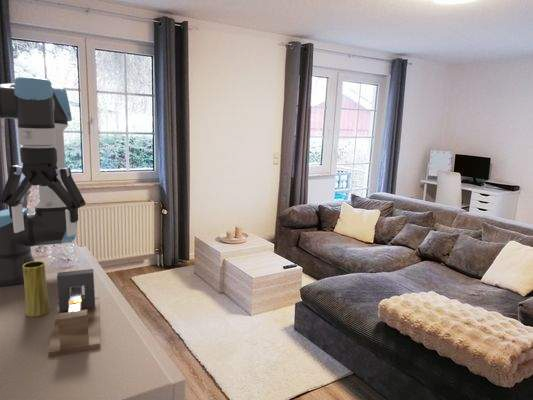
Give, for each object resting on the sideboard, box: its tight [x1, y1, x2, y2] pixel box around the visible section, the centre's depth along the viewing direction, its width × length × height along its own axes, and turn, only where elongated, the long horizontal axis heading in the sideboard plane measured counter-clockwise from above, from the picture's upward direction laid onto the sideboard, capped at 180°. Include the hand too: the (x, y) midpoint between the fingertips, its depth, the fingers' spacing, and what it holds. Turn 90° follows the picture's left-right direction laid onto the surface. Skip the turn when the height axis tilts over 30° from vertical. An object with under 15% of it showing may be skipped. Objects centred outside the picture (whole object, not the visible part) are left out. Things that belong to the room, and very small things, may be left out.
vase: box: [22, 260, 51, 318], centre depth 111 cm, size 6×6×14 cm
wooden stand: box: [47, 293, 101, 358], centre depth 105 cm, size 27×11×9 cm, turn 23°
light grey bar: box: [68, 286, 83, 312], centre depth 105 cm, size 22×3×3 cm, turn 23°
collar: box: [56, 268, 96, 311], centre depth 111 cm, size 3×9×10 cm, turn 113°
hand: (45, 233), depth 97 cm, fingers open, 13 cm apart
